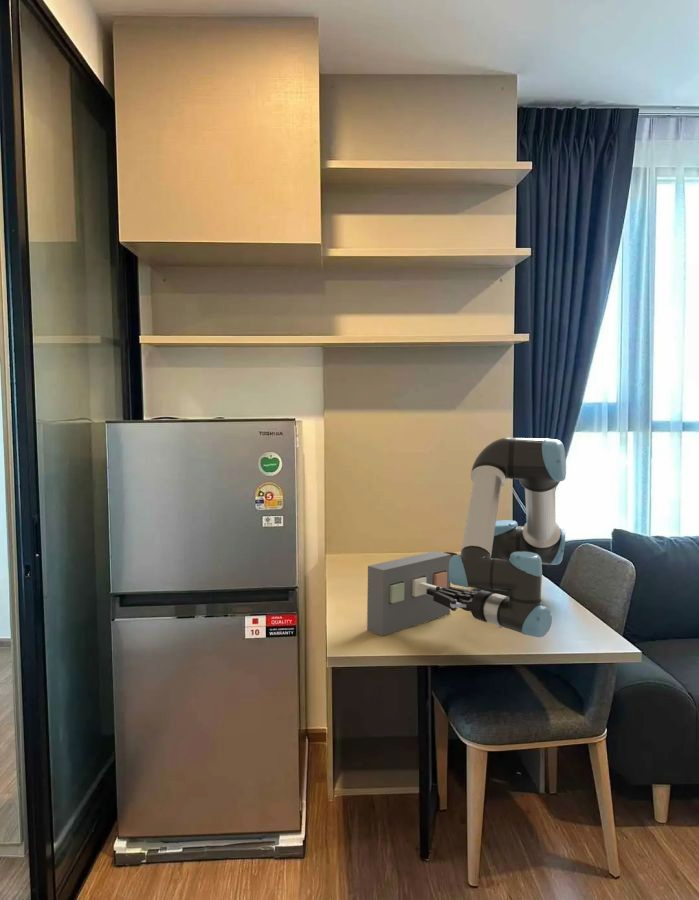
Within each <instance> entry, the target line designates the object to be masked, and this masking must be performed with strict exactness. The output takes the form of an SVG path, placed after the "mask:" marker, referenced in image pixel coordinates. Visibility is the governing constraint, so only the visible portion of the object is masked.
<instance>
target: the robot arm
mask: <svg viewBox="0 0 699 900" xmlns="http://www.w3.org/2000/svg"><path fill="white" fill-rule="evenodd" d="M566 475H567V461H566V451H565V447H564V444H563V442H562V441H561V440H559V439H554V438H549V437H545V438H535V437H534V438H533V437H530V438H529V437H528V438H527V437H526V438H525V437H503V438H498V439H496V440H494V441H492V442H490V443H489V444H488V445H486V447H485V448H483V449H482V451H481V452H480V453H479V454H478V455H477V456H476V458H475V460H474V462H473V465H472V467H471V473H470V480H471V481H472V487H471V491H470V492H471V493H470V499H469V504H468V510H467V514H466V523H465V526H464V533H463V536H462V537H463V538H462V543H461V549H460V554H458V555H453V556H452V557H451V559H450V562H449V580H450V584H452V585H453V586H458V587H453V586H450V587H448V588H445V587H444V588H441V587H438V586H434V585H431V584H427V583H424V582H423V583H420V593H422V594H425V595H429V596H432V597H433V601H435V602H437V603H440V604H442V605H444V606H446V607H448V608H450V611H452V612H455V611H456V610H457V608H460V609H462V610H463V611H466V612H470V613H471V615H472V617H473V618H474V619H476V620H478V621H481V622H484V623H489V624H491V625H495V626H498V628H500V629H501V628H504V629H505V628H506V629H509V630H510V631H515V632H518V633H521V634H522V635H525V636H530V637H534V638H543V637H544V636H546V635H547V634H548V632H550V629H551V626H552V622H553V620H552V619H553V617H552V614H551V610H550V608H548V607H547V606H545V605H543V604H542V583H543V582H542V581H543V578H542V577H543V567H542V566H543V565H547V566H552V565H555V566H556V565H560V564H561V562H562V561H563V557H564V550H565V544H566V532H565V530H564V529H563V528H561V527H560V525H558V523H557V522H556V488H557V487H558V485H559V484H560V483H561V482H563V481H565V480H566ZM506 479H509V480H519V483H520V484H521V486H522V487H523V488H524V495H525V496H524V497H525V498H524V499H525V513H526V514H525V515H526V523H524V525H522V526H521V525H518V522H517V521H516V520H511V519H508V520H507V519H505V520H503V519H502V520H497V516H498V509H499V502H500V495H501V489H502V486H504V485H505V483H506ZM459 587H462V588H459ZM464 588H466V589H464ZM467 588H473V589H474V590H471V589H467Z"/></svg>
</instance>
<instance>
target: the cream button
mask: <svg viewBox="0 0 699 900" xmlns="http://www.w3.org/2000/svg"><path fill="white" fill-rule="evenodd" d="M426 580H427V578H426V577H422V576H421V577H417V578H413V579H412V596H414V597H416V596H420V595H424V594H422V593H420V583H423V582H424V583H426Z"/></svg>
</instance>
